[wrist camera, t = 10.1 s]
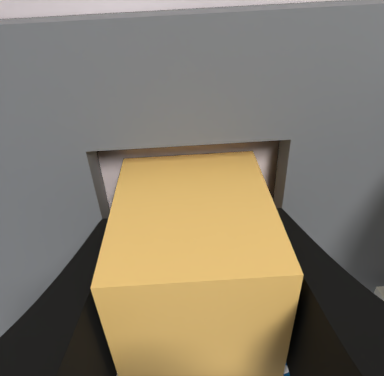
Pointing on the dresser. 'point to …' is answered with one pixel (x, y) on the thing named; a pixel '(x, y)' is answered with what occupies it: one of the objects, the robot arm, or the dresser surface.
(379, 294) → the cover
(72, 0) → the dresser surface
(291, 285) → the ochre block
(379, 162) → the puzzle board
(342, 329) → the robot arm
